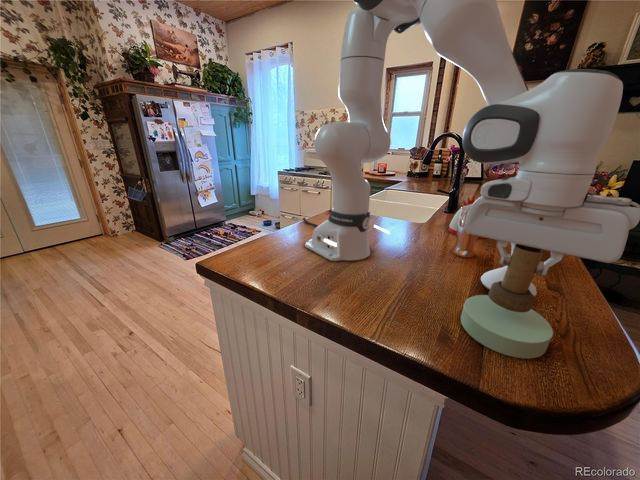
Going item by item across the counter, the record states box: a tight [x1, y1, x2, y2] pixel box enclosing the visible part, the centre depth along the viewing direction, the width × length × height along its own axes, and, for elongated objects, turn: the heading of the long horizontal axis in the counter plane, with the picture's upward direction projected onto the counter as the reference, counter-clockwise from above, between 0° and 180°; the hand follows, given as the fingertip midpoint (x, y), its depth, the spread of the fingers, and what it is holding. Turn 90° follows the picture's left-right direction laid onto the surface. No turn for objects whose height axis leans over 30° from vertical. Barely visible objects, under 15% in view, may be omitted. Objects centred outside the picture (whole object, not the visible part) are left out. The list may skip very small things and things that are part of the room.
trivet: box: [460, 294, 554, 359], centre depth 50 cm, size 14×14×4 cm
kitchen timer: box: [448, 195, 486, 240], centre depth 101 cm, size 14×14×15 cm
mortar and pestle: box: [488, 217, 545, 312], centre depth 44 cm, size 7×6×18 cm
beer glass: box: [452, 206, 478, 258], centre depth 81 cm, size 7×7×15 cm
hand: (521, 268), depth 45 cm, fingers closed on mortar and pestle, 4 cm apart
